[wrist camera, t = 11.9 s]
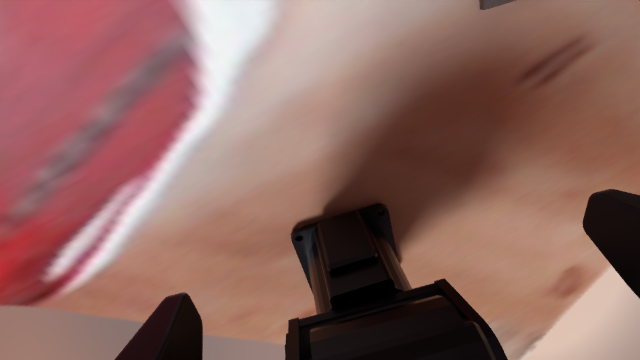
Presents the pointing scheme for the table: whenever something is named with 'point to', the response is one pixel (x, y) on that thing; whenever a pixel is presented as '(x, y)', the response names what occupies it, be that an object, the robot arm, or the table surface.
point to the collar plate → (492, 3)
